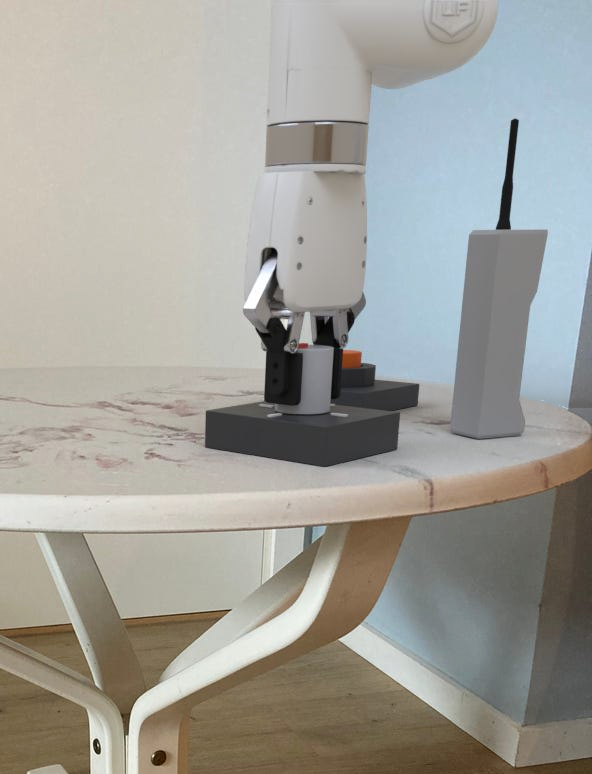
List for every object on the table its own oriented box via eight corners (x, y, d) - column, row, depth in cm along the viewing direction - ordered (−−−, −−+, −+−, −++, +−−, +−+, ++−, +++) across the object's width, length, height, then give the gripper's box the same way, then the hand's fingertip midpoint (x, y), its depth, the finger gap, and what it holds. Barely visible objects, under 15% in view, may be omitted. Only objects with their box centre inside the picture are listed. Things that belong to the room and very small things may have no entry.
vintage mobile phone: (524, 435, 95) (562, 117, 87) (477, 439, 94) (512, 115, 85) (494, 429, 99) (528, 121, 90) (449, 433, 97) (479, 119, 88)
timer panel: (397, 449, 89) (400, 410, 88) (325, 466, 83) (327, 424, 82) (279, 432, 98) (280, 396, 96) (204, 447, 91) (205, 408, 90)
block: (417, 405, 113) (421, 365, 111) (362, 416, 106) (365, 374, 105) (320, 394, 121) (323, 357, 119) (263, 404, 114) (265, 364, 113)
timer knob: (296, 405, 92) (299, 339, 90) (340, 410, 89) (345, 342, 87) (263, 410, 89) (266, 343, 87) (308, 416, 86) (312, 346, 84)
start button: (367, 369, 112) (368, 351, 112) (347, 372, 110) (348, 354, 109) (337, 366, 115) (339, 349, 114) (317, 369, 112) (318, 351, 112)
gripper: (340, 161, 91) (326, 387, 97) (203, 151, 80) (197, 406, 86) (420, 156, 86) (400, 395, 92) (285, 145, 75) (273, 417, 81)
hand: (302, 398), depth 89 cm, fingers closed on timer knob, 4 cm apart
